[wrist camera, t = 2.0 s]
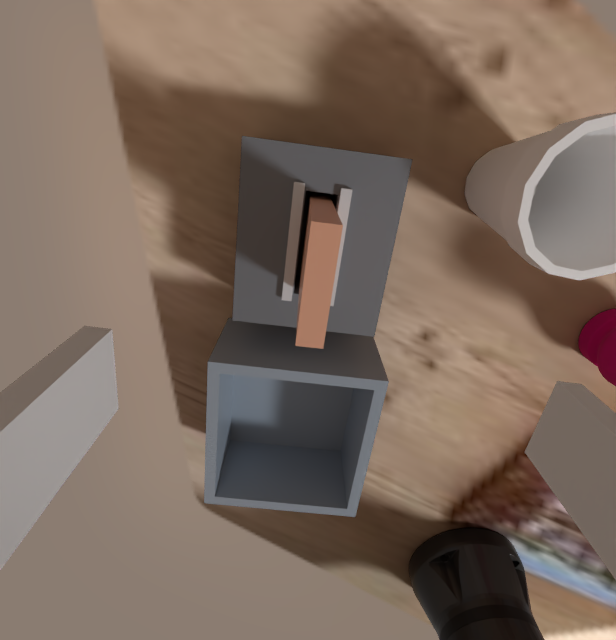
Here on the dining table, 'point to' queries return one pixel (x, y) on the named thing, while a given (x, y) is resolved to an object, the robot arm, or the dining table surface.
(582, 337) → the pepper mill
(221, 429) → the bin
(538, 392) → the dining table surface
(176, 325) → the dining table surface
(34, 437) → the robot arm
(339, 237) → the terracotta flat slab
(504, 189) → the foam cup
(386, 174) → the dispenser
